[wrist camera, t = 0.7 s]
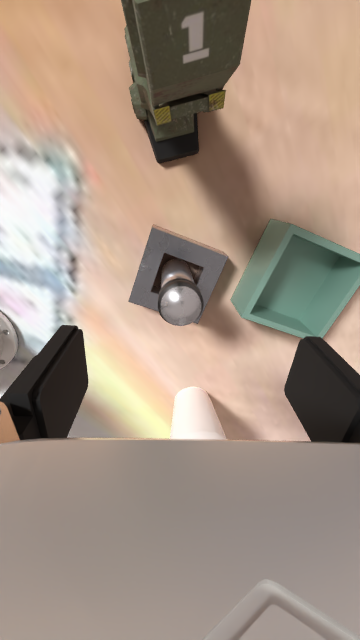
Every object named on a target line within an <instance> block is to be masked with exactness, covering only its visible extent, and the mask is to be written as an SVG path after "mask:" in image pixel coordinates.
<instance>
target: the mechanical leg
mask: <svg viewBox="0 0 360 640" xmlns="http://www.w3.org/2000/svg"><path fill="white" fill-rule="evenodd" d="M121 2H122V7H123V11H124V16H125V20H126V24H127V25H126V27H125V39H126V43H127V47H128V52H129V56H130V61H129V66H130V71H131V75H132V79H133V84H132V85H131V86H130V87H129V90H130V94H131V98H132V99H131V101H132V105H133V109H134V112H135V114H136V117H137V119H142V120H145V121H144V124H145V127H146V130H147V133H148V136H149V139H150V142H151V145H152V148H153V151H154V154H155V157H156V160H157V162H158V163H163V162H167V161H171V160H174V159H178V158H182V157H186V156H190V155H194V154H197V153H198V152H199V145H198V126H197V113H198V112H201V111H203V112H210V111H214V110H218V109H221V108H223V107H224V99H225V91H226V90H222V89H223V87H224V85H225V84H226V83H227V81H228V80H229V78H230V77H231V76H232V74H233V73H234V72H235V70H236V69H237V67H238V66H239V65H240V60H241V54H242V49H243V43H244V38H245V32H246V27H247V21H248V15H249V10H250V4H251V0H121ZM146 119H147V120H146Z"/></svg>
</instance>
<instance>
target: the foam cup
mask: <svg viewBox="0 0 360 640" xmlns="http://www.w3.org/2000/svg"><path fill="white" fill-rule="evenodd" d="M170 439H217V440H227V438H226V436H225V433H224V431H223V428H222V426H221V424H220V421H219V419H218V416H217V414H216V411H215V409H214V407H213V404H212V402H211V399H210V397H209V395H208V393H207V392H206V391H205V390H203V389H202V388H198V387H189V388H185V389H183V390H181V391H180V392H178V394H177V396H176V397H175V402H174V410H173V418H172V427H171V435H170Z"/></svg>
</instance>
